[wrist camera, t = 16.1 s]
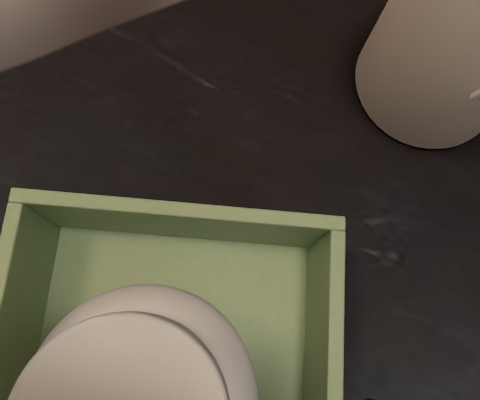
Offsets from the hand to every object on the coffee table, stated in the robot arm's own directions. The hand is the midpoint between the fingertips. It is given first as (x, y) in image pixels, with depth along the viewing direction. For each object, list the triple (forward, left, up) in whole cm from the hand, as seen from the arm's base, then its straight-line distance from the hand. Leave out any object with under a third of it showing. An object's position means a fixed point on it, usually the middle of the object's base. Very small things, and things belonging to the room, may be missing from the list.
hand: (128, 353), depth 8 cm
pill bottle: (-2, 0, -13) cm, 13 cm away
